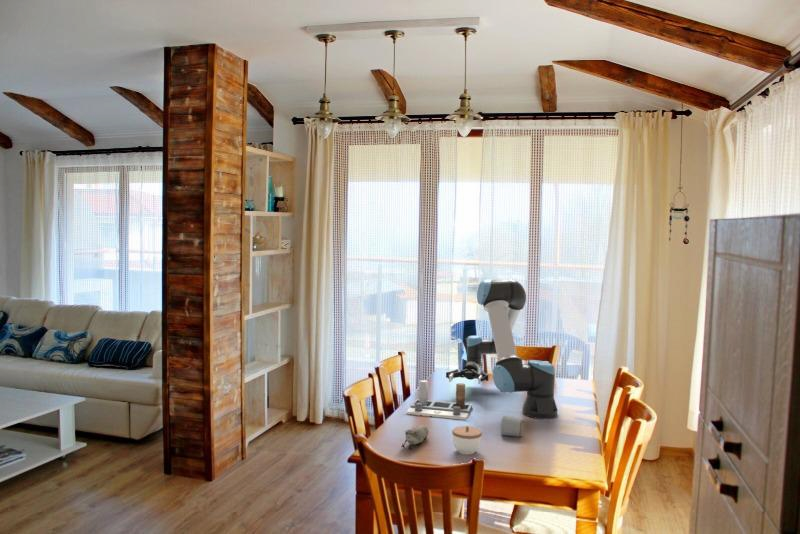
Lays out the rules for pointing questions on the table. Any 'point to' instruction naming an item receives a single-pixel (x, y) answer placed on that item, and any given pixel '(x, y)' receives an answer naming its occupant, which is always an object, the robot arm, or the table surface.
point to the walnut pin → (460, 395)
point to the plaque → (438, 412)
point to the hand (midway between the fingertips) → (464, 380)
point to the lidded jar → (467, 439)
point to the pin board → (431, 404)
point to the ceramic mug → (511, 426)
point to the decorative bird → (416, 435)
